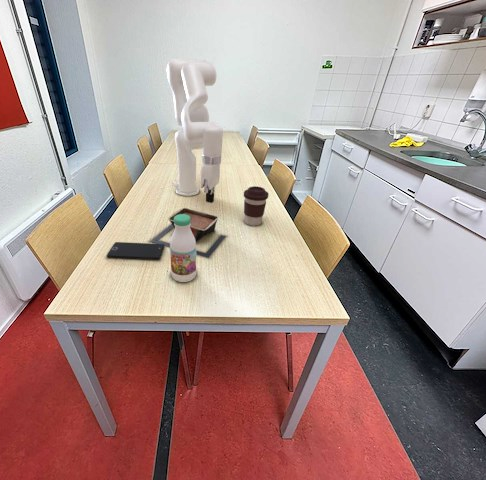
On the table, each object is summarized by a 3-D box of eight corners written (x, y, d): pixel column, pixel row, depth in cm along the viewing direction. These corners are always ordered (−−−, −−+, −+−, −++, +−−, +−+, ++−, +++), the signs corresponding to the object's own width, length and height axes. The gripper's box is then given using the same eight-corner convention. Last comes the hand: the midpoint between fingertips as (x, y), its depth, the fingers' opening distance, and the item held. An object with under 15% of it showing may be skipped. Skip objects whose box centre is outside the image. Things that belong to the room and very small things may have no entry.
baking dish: (198, 252, 99) (203, 229, 94) (162, 231, 106) (165, 209, 101) (219, 238, 110) (224, 217, 105) (184, 220, 117) (188, 199, 112)
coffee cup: (265, 219, 119) (270, 186, 111) (262, 229, 111) (267, 195, 103) (243, 215, 122) (247, 183, 114) (238, 225, 114) (241, 191, 106)
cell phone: (115, 244, 99) (115, 241, 98) (164, 246, 98) (164, 243, 98) (106, 257, 91) (106, 255, 90) (159, 260, 90) (159, 257, 90)
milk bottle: (171, 267, 87) (168, 211, 77) (195, 267, 88) (195, 211, 78) (171, 283, 81) (167, 223, 70) (196, 282, 81) (197, 223, 71)
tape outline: (150, 241, 101) (150, 241, 101) (172, 223, 114) (172, 223, 114) (208, 257, 93) (208, 257, 93) (225, 236, 106) (225, 236, 105)
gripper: (210, 153, 114) (209, 194, 124) (194, 162, 103) (194, 206, 113) (227, 156, 112) (224, 197, 122) (212, 166, 100) (210, 210, 110)
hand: (209, 201), depth 117 cm, fingers closed
